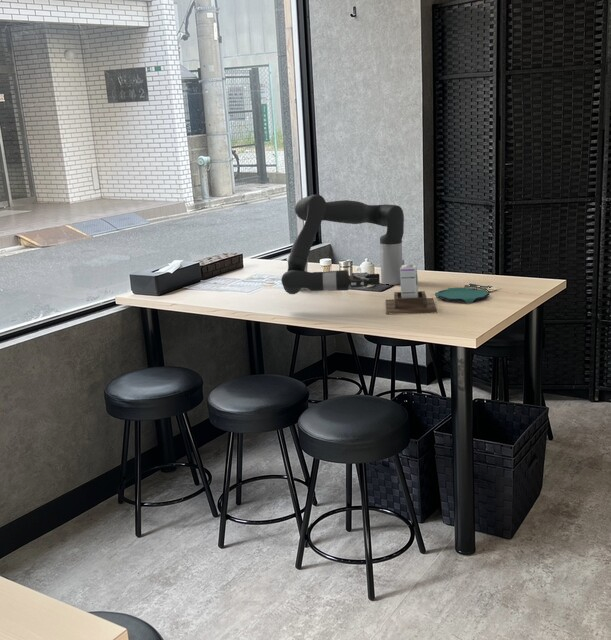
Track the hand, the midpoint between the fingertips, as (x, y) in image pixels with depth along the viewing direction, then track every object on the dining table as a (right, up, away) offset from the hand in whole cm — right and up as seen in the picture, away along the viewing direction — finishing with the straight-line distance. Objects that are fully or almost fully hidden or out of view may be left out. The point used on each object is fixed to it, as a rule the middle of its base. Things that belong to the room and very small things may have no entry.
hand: (379, 279), depth 285 cm
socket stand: (+12, -10, +2) cm, 16 cm away
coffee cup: (-30, -2, +45) cm, 54 cm away
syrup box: (+11, -9, +1) cm, 15 cm away
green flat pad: (+36, -6, +16) cm, 40 cm away
